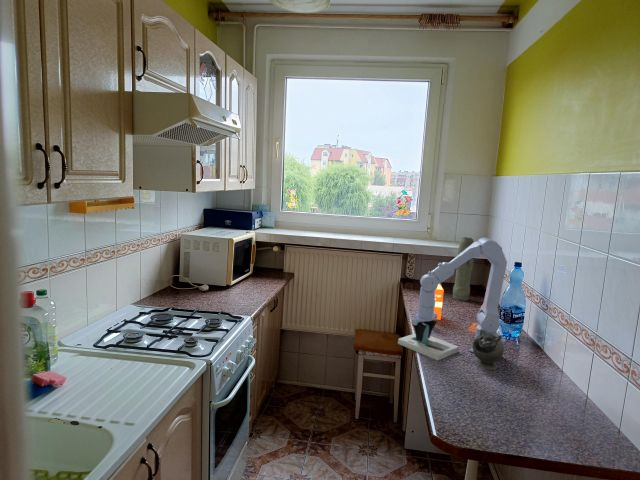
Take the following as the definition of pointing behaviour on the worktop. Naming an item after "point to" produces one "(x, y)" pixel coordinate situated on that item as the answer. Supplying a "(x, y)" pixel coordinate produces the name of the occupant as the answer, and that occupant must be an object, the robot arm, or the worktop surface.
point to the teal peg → (425, 336)
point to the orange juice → (438, 301)
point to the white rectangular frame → (421, 348)
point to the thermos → (463, 273)
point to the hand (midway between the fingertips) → (422, 339)
